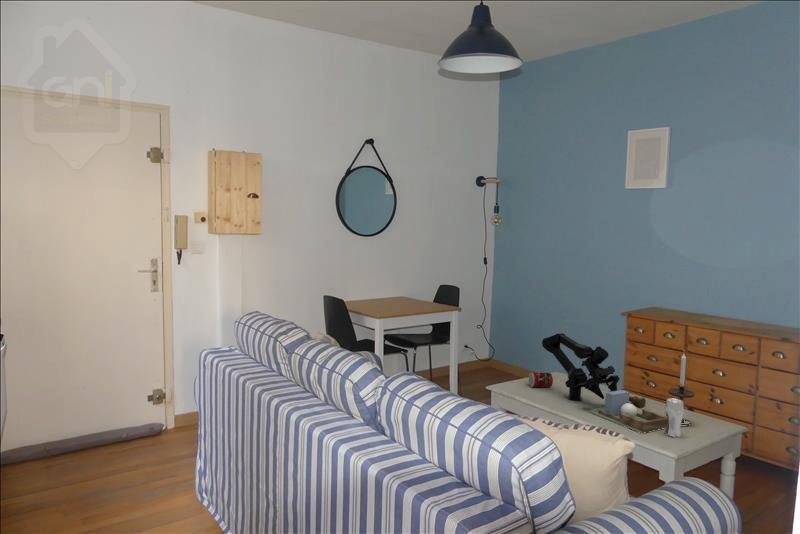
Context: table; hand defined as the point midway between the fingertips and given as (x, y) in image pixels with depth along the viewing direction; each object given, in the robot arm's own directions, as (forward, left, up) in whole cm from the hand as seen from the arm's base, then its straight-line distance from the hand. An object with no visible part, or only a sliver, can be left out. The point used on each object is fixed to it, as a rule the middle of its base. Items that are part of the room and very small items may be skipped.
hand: (610, 397), depth 279 cm
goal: (+8, +8, -7) cm, 13 cm away
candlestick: (+4, +30, -7) cm, 31 cm away
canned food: (-35, -30, -3) cm, 46 cm away
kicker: (+3, +3, -7) cm, 8 cm away
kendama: (-20, +8, -8) cm, 23 cm away
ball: (+8, +8, -3) cm, 11 cm away
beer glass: (+22, +25, -7) cm, 34 cm away
